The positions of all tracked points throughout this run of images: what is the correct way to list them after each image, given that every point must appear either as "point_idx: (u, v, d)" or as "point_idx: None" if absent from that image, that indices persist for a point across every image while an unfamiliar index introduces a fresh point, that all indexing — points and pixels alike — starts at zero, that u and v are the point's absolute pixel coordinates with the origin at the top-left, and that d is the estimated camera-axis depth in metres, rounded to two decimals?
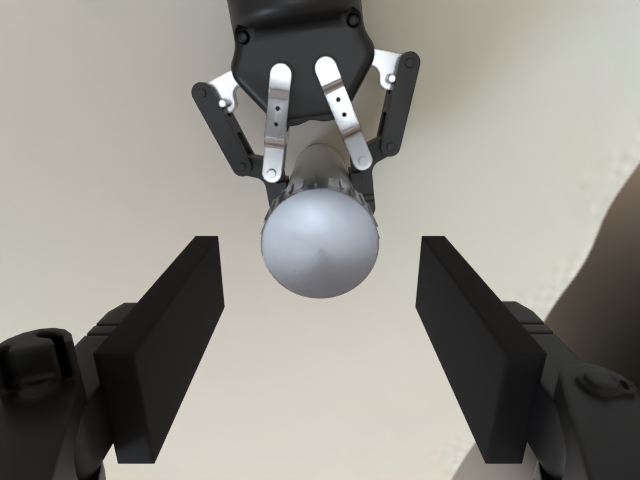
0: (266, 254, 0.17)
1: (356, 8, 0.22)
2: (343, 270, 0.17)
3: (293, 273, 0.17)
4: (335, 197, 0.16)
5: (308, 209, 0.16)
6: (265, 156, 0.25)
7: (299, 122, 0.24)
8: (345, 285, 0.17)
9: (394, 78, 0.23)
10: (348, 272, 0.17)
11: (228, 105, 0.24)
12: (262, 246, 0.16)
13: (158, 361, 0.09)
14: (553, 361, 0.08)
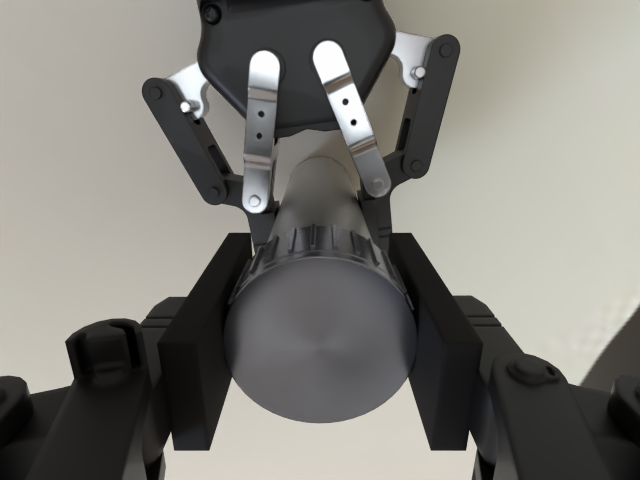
0: (231, 359, 0.10)
1: None
2: (358, 383, 0.10)
3: (276, 387, 0.10)
4: (346, 271, 0.09)
5: (300, 290, 0.09)
6: (246, 178, 0.18)
7: (291, 132, 0.18)
8: (361, 405, 0.10)
9: (423, 72, 0.17)
10: (366, 386, 0.10)
11: (194, 109, 0.18)
12: (224, 347, 0.10)
13: (211, 351, 0.09)
14: (496, 351, 0.08)
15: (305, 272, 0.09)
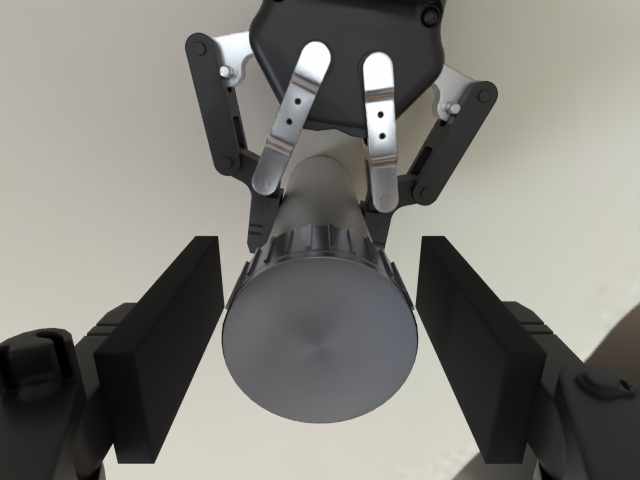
0: (298, 417, 0.11)
1: (441, 2, 0.16)
2: (377, 331, 0.10)
3: (345, 396, 0.10)
4: (250, 297, 0.09)
5: (253, 340, 0.10)
6: (262, 158, 0.18)
7: (320, 128, 0.18)
8: (404, 337, 0.10)
9: (458, 109, 0.17)
10: (384, 325, 0.10)
11: (232, 76, 0.18)
12: (284, 416, 0.11)
13: (158, 361, 0.09)
14: (554, 361, 0.08)
15: (238, 329, 0.10)
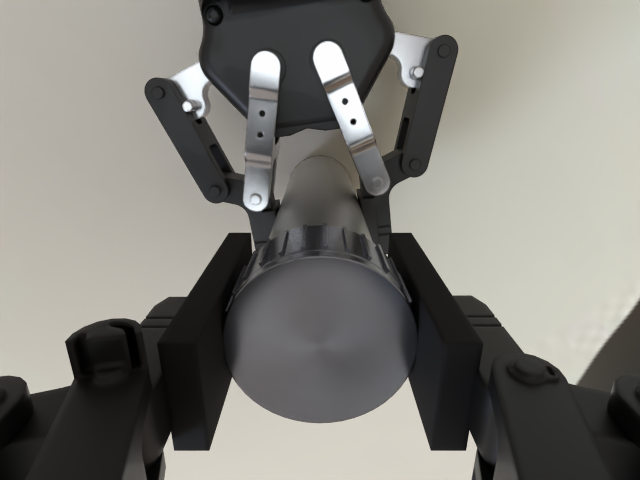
0: (322, 418, 0.11)
1: None
2: (370, 317, 0.10)
3: (361, 388, 0.10)
4: (238, 316, 0.10)
5: (255, 355, 0.10)
6: (247, 177, 0.18)
7: (292, 132, 0.18)
8: (399, 317, 0.10)
9: (422, 72, 0.17)
10: (375, 309, 0.09)
11: (196, 109, 0.18)
12: (309, 421, 0.11)
13: (212, 351, 0.09)
14: (496, 352, 0.08)
15: (237, 349, 0.10)
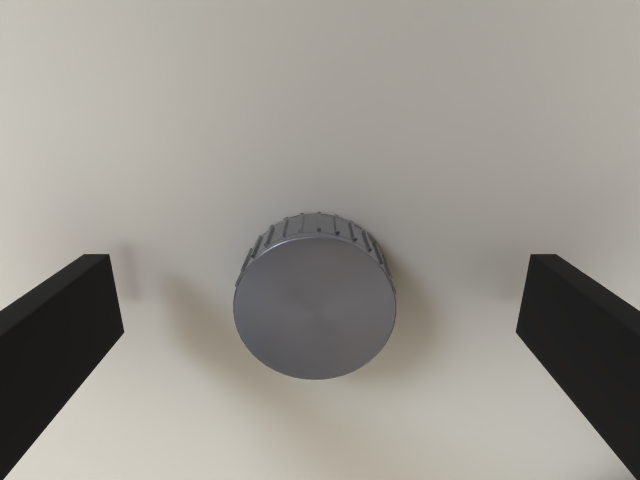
0: (317, 375, 0.13)
1: None
2: (355, 288, 0.12)
3: (349, 349, 0.12)
4: (246, 287, 0.12)
5: (261, 320, 0.12)
6: None
7: None
8: (380, 287, 0.12)
9: None
10: (360, 281, 0.12)
11: None
12: (306, 378, 0.13)
13: None
14: None
15: (246, 315, 0.12)
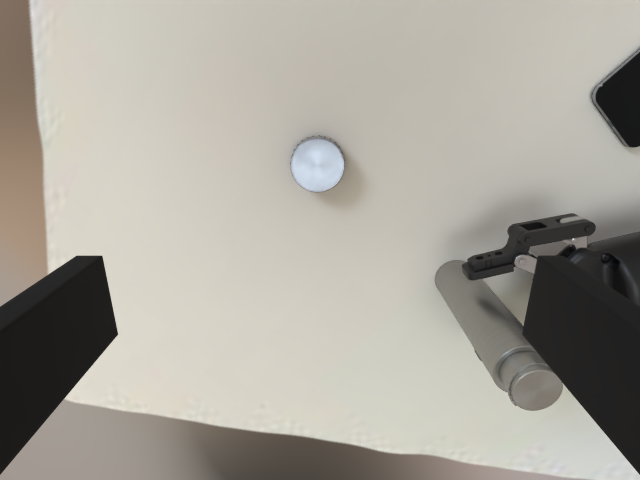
0: (318, 190, 0.37)
1: None
2: (330, 156, 0.36)
3: (329, 179, 0.37)
4: (295, 156, 0.36)
5: (299, 168, 0.36)
6: (535, 260, 0.33)
7: None
8: (338, 156, 0.36)
9: None
10: (332, 154, 0.36)
11: (567, 240, 0.33)
12: (314, 191, 0.37)
13: None
14: None
15: (295, 166, 0.36)
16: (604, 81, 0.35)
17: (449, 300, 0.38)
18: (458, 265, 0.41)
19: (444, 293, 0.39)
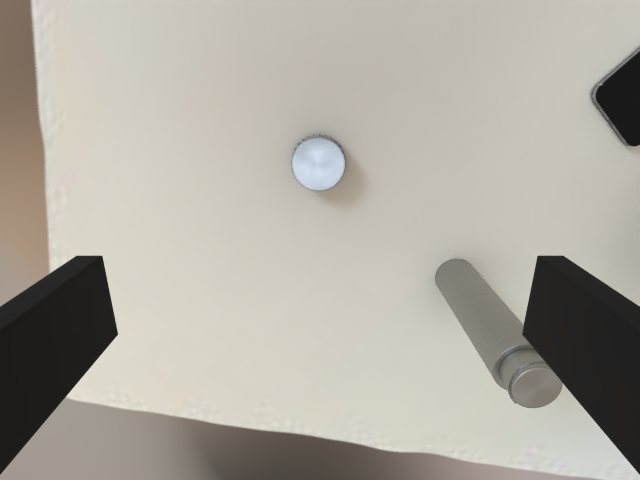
0: (319, 189, 0.37)
1: None
2: (331, 155, 0.36)
3: (329, 178, 0.37)
4: (296, 155, 0.36)
5: (300, 167, 0.36)
6: None
7: None
8: (339, 155, 0.36)
9: None
10: (332, 153, 0.36)
11: None
12: (315, 190, 0.37)
13: None
14: None
15: (295, 165, 0.36)
16: (604, 80, 0.36)
17: (450, 298, 0.38)
18: (458, 264, 0.41)
19: (444, 291, 0.39)
